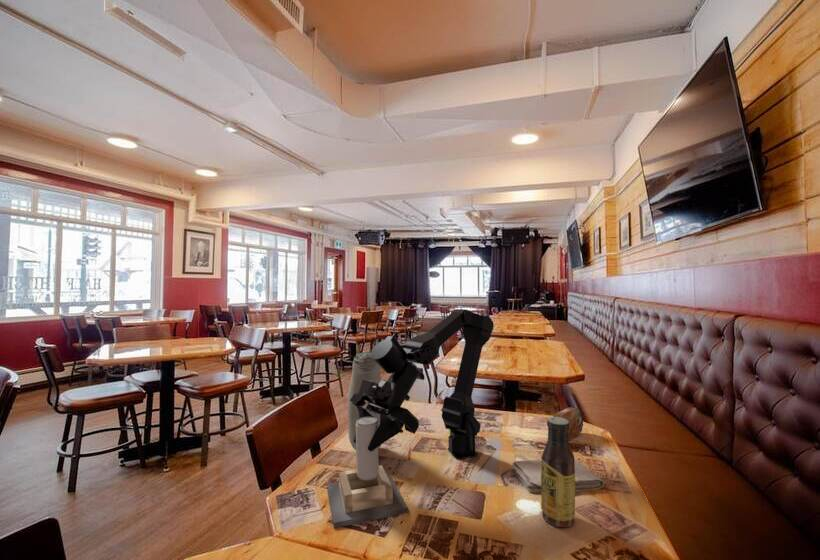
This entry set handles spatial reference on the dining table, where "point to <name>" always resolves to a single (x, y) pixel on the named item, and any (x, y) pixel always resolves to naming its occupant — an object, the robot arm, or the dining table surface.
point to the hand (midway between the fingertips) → (361, 446)
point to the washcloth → (532, 476)
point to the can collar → (364, 498)
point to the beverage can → (366, 448)
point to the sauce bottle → (558, 475)
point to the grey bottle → (361, 370)
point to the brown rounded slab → (572, 421)
